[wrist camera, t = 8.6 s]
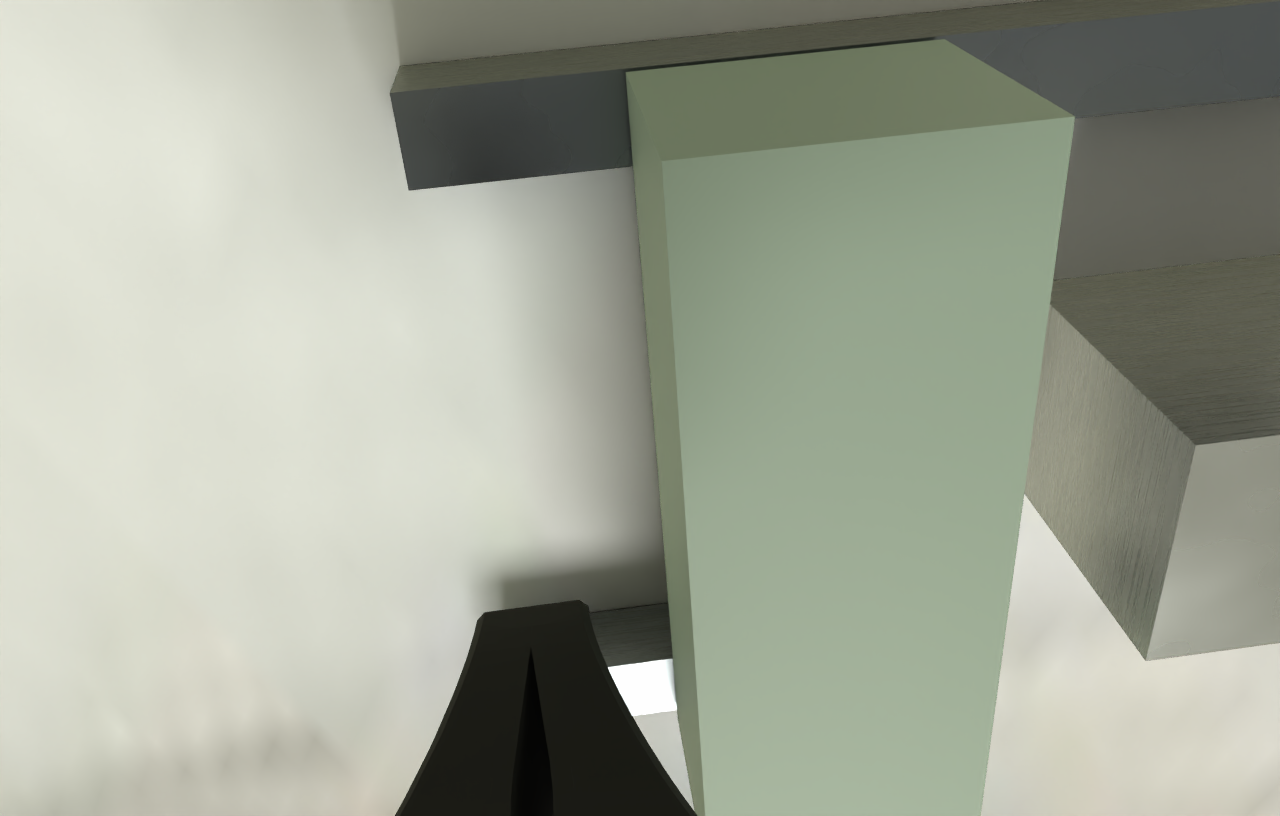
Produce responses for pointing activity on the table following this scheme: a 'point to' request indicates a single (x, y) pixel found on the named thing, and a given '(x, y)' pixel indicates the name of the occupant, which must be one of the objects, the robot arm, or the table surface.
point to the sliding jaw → (843, 411)
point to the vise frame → (997, 35)
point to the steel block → (1167, 449)
